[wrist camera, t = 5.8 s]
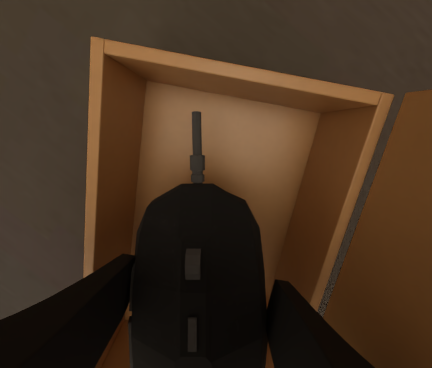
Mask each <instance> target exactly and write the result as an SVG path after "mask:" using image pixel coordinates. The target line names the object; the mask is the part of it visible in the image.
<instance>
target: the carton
mask: <svg viewBox="0 0 432 368" xmlns="http://www.w3.org/2000/svg"><path fill="white" fill-rule="evenodd" d="M393 98H394V95H393V94H389V93H381V92H378V91H373V90H368V89H363V88H357V87H352V86H347V85H342V84H337V83H331V82H326V81H321V80H316V79H310V78H305V77H300V76H295V75H290V74H284V73H279V72H274V71H269V70H264V69H258V68H253V67H248V66H243V65H237V64H232V63H227V62H222V61H217V60H211V59H206V58H201V57H196V56H191V55H185V54H180V53H175V52H170V51H164V50H159V49H154V48H149V47H144V46H138V45H133V44H128V43H123V42H118V41H112V40H107V39H106V40H104V39H102V38H97V37H91V49H90V81H89V112H88V144H87V176H86V207H85V239H84V271H83V278H85V277H86V276H88V275H90V274H91V273H93V272H94V271H96V270H98V269H99V268H101V267H102V266H104V265H105V264H107V263H109V262H110V261H112V260H113V259H115V258H116V257H118V256H120V255H121V254H129V255H135V245H136V234H137V230H138V228H139V225H140V223H141V220H142V218H143V215H144V213H145V210H146V208H147V206H148V205H149V204H150V202H151V201H152V200H154V199H155V198H157V197H159V196H161V195H162V194H164V193H166V192H168V191H169V190H171V189H173V188H174V187H176V186H178V185H180V184H193V182H191V174H192V171H191V170H190V155H193V149H192V112H193V111H200V112H201V130H202V155H205V170H204V171H203V174H204V175H205V182H203V183H213V184H215V185H217V186H218V187H220V188H222V189H223V190H225V191H227V192H229V193H231V194H233V195H235V196H238V197H240V198H242V199H244V200H246V202H247V204H248V206H249V208H250V210H251V212H252V214H253V216H254V218H255V220H256V222H257V224H258V225H259V227H260V235H261V243H262V252H263V261H264V270H265V288H266V309H267V306H268V303H269V299H270V296H271V292H272V289H273V285H274V282H275V279H278V280H284V281H289V282H290V283H291V284H292V285H293V286H294V287H295V288H296V289H297V291H298V292H299V293H300V294H301V295H302V296H303V297H304V298H305V299H306V300H307V302H308V303H309V304H310V305H311V306H312V307H313V308H314V309H315V310H316V311H318V308H319V305H320V302H321V299H322V297H323V294H324V291H325V288H326V285H327V283H328V280H329V277H330V274H331V271H332V269H333V266H334V263H335V260H336V257H337V255H338V252H339V249H340V246H341V243H342V241H343V238H344V235H345V232H346V229H347V227H348V224H349V221H350V218H351V215H352V213H353V210H354V207H355V204H356V201H357V199H358V196H359V193H360V190H361V187H362V185H363V182H364V179H365V176H366V173H367V171H368V168H369V165H370V162H371V159H372V157H373V154H374V151H375V148H376V145H377V143H378V140H379V137H380V134H381V131H382V129H383V126H384V123H385V120H386V117H387V115H388V112H389V109H390V106H391V103H392V101H393ZM129 316H132V311H129V304H128V307H127V309H126V311H125V314H124V316H123V318H122V320H121V322H120V323H119V325H118V327H117V329H116V331H115V332H114V334H113V336H112V338H111V340H110V341H109V343H108V345H107V347H106V349H105V350H104V352H103V354H102V356H101V357H100V359H99V361H98V363H97V365H96V366H95V368H130V357H129V334H128V321H129ZM265 368H274V365H273V361H272V356H271V352H270V348H269V344H268V345H267V356H266V366H265Z"/></svg>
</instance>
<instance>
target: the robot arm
mask: <svg viewBox="0 0 432 368" xmlns="http://www.w3.org/2000/svg"><path fill="white" fill-rule="evenodd" d="M135 257H136V256H135V255H129V254H121V255H120V256H118V257H116V258H115V259H113V260H112V261H110V262H109V263H107V264H105V265H104V266H102V267H101V268H99V269H98V270H96V271H94V272H93V273H91V274H90V275H88V276H86V277H85V278H83V279H81V280H80V281H78V282H76V283H74V284H73V285H71V286H69V287H67V288H65V289H64V290H62V291H60V292H58V293H57V294H55V295H53V296H51V297H49V298H47V299H45V300H43V301H41V302H39V303H37V304H35V305H33V306H31V307H29V308H27V309H24V310H22V311H20V312H18V313H16V314H13V315H11V316H9V317H6V318H4V319H1V320H0V368H95V366H96V365H97V363H98V361H99V359H100V357H101V356H102V354H103V352H104V350H105V349H106V347H107V345H108V343H109V341H110V340H111V338H112V336H113V334H114V332H115V331H116V329H117V327H118V325H119V323H120V322H121V320H122V318H123V316H124V314H125V311H126V309H127V307H128V304H129V301H130V284H131V270H132V267H133V264H134V263H135ZM266 331H267V338H268V344H269V348H270V352H271V356H272V361H273V365H274V368H375V367H374V366H373V365H372V364H370V363H369V362H368V361H367V360H366V359H365V358H364V357H362V356H361V355H360V354H359V353H358V352H357V351H356V350H355V349H354V348H353V347H351V346H350V345H349V344H348V343H347V342H346V341H345V340H344V339H343V338H342V337H341V336H340V335H339V334H338V333H337V332H336V331H335V330H334V329H333V328H332V327H331V326H330V325H329V324H328V323H327V322H326V321H325V320H324V319H323V318H322V317H321V316H320V314H319V313H318V312H317V311H316V310H315V309H314V308H313V307H312V306H311V305H310V304H309V303H308V302H307V300H306V299H305V298H304V297H303V296H302V295H301V294H300V293H299V292H298V291H297V289H296V288H295V287H294V286H293V285H292V284H291V283H290V282H289V281H284V280H278V279H275V282H274V285H273V289H272V292H271V296H270V299H269V303H268V306H267V322H266Z"/></svg>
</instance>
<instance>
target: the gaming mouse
mask: <svg viewBox="0 0 432 368" xmlns="http://www.w3.org/2000/svg"><path fill="white" fill-rule="evenodd" d="M192 149H193V155H190V170H191V171H192V174H191V182H193V184H180V185H178V186H176V187H174V188H173V189H171V190H169V191H168V192H166V193H164V194H162V195H161V196H159V197H157V198H155V199H154V200H152V201H151V202H150V204H149V205H148V206H147V208H146V210H145V213H144V215H143V218H142V220H141V223H140V225H139V228H138V230H137V234H136V245H135V256H136V257H135V263H134V264H133V267H132V270H131V284H130V301H129V311H132V316H129V321H128V334H129V357H130V368H265V366H266V356H267V345H268V338H267V331H266V322H267V309H266V288H265V270H264V261H263V252H262V243H261V235H260V227H259V225H258V224H257V222H256V220H255V218H254V216H253V214H252V212H251V210H250V208H249V206H248V204H247V202H246V200H244V199H242V198H240V197H238V196H235V195H233V194H231V193H229V192H227V191H225V190H223V189H222V188H220V187H218V186H217V185H215V184H213V183H203V182H205V175H204V174H203V171H204V170H205V155H202V130H201V112H200V111H193V112H192Z"/></svg>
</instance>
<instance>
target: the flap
mask: <svg viewBox="0 0 432 368" xmlns="http://www.w3.org/2000/svg"><path fill="white" fill-rule="evenodd" d="M323 319H324V320H325V321H326V322H327V323H328V324H329V325H330V326H331V327H332V328H333V329H334V330H335V331H336V332H337V333H338V334H339V335H340V336H341V337H342V338H343V339H344V340H345V341H346V342H347V343H348V344H349V345H350V346H351V347H353V348H354V349H355V350H356V351H357V352H358V353H359V354H360V355H361V356H362V357H364V358H365V359H366V360H367V361H368V362H369V363H370V364H372V365H373V366H374V367H375V368H432V89H431V90H423V91H416V92H408V93H406V94H405V96H404V99H403V102H402V104H401V107H400V110H399V113H398V115H397V118H396V121H395V123H394V126H393V129H392V132H391V134H390V137H389V140H388V142H387V145H386V148H385V151H384V153H383V156H382V159H381V161H380V164H379V167H378V170H377V172H376V175H375V178H374V180H373V183H372V186H371V189H370V191H369V194H368V197H367V199H366V202H365V205H364V208H363V210H362V213H361V216H360V218H359V221H358V224H357V227H356V229H355V232H354V235H353V237H352V240H351V243H350V246H349V248H348V251H347V254H346V256H345V259H344V262H343V265H342V267H341V270H340V273H339V275H338V278H337V281H336V284H335V286H334V289H333V292H332V294H331V297H330V300H329V303H328V305H327V308H326V311H325V313H324V316H323Z"/></svg>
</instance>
